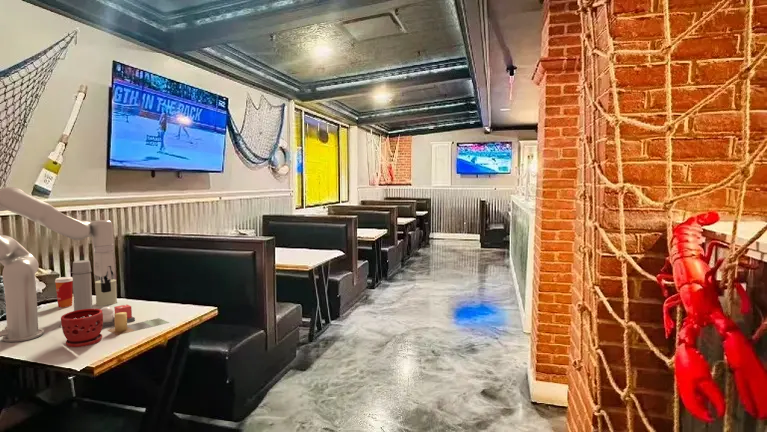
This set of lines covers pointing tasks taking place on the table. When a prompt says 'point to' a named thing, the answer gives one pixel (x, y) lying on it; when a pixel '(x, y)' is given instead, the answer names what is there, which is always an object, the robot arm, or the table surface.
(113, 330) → the game board
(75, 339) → the plant pot
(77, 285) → the water bottle
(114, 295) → the can
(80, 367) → the table surface
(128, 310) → the popper base
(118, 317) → the tan cylinder
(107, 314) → the dome
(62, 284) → the paper cup
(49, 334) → the table surface
